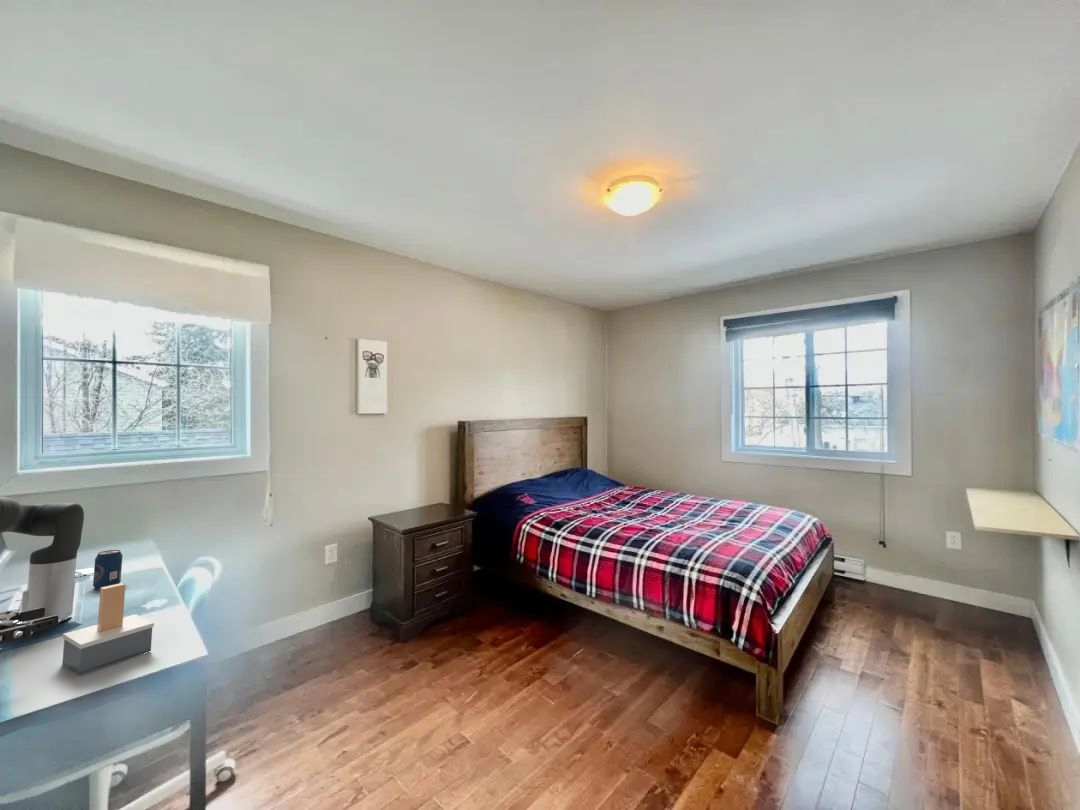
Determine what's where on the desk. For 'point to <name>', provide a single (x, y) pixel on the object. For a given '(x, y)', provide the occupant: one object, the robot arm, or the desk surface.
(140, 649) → the tub
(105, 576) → the soda can
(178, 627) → the desk surface
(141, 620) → the lid
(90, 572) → the external hard drive
